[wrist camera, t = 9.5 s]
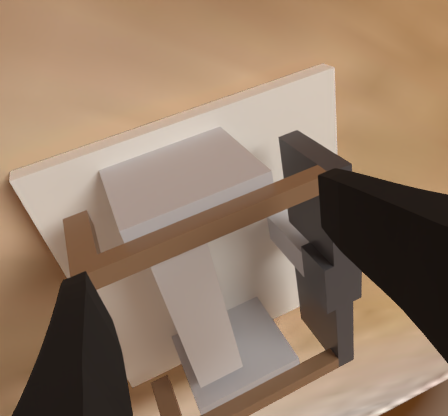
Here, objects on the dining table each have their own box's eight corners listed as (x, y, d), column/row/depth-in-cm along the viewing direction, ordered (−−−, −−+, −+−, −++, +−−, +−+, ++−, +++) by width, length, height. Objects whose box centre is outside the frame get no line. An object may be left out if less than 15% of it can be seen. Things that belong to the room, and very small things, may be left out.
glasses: (155, 390, 24) (174, 455, 21) (62, 219, 16) (70, 280, 13) (321, 308, 26) (360, 355, 23) (306, 126, 19) (362, 159, 16)
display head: (129, 375, 27) (152, 467, 22) (10, 171, 18) (2, 252, 13) (333, 277, 30) (392, 338, 25) (322, 63, 21) (412, 94, 16)
